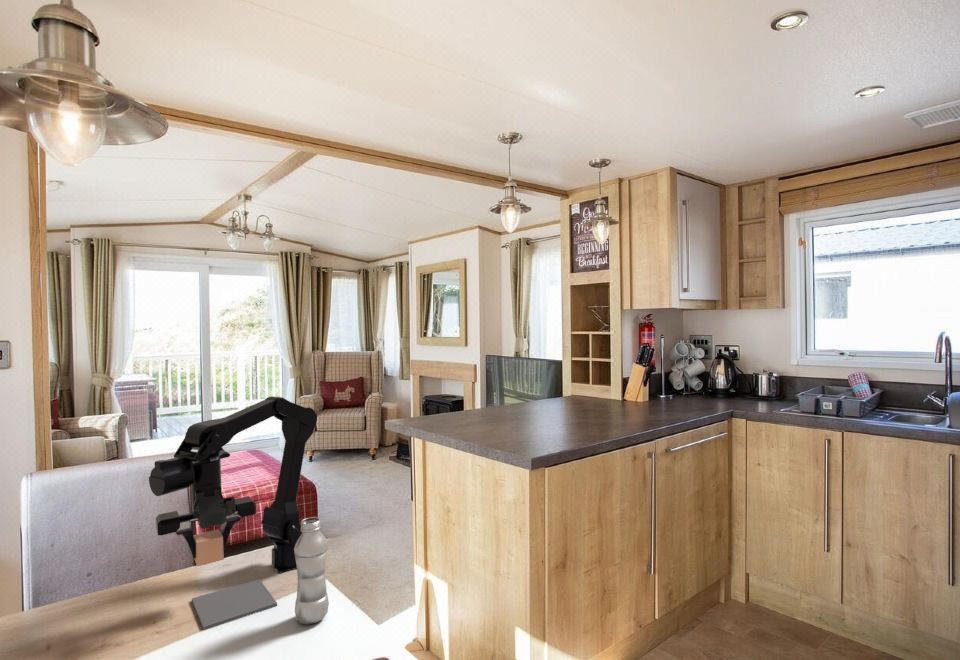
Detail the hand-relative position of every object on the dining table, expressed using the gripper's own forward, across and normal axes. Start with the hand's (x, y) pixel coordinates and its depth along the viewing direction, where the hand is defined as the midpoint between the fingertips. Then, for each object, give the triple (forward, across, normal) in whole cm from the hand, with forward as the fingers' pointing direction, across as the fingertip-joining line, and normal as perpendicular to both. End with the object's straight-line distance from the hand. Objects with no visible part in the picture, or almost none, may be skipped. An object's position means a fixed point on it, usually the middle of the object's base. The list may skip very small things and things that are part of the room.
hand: (208, 554), depth 112 cm
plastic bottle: (+11, +16, -20) cm, 28 cm away
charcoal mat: (+11, +4, -3) cm, 12 cm away
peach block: (+1, 0, 0) cm, 1 cm away
